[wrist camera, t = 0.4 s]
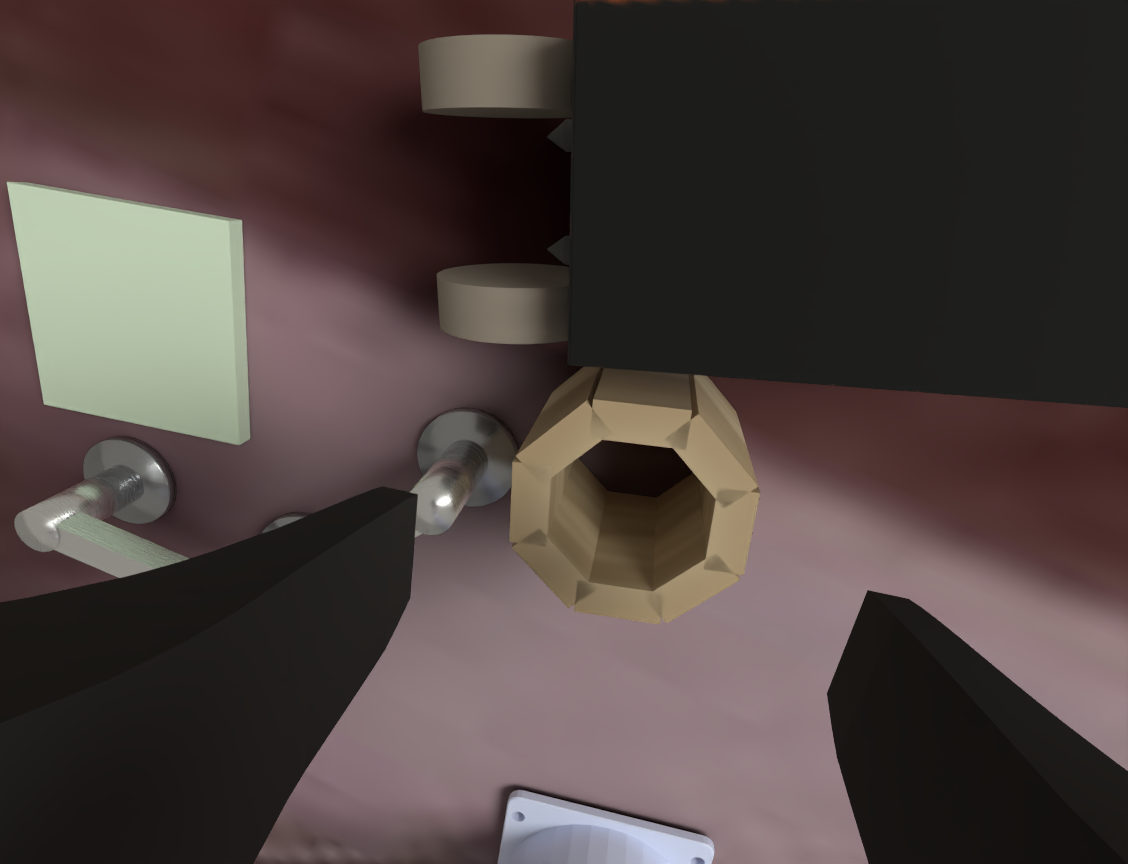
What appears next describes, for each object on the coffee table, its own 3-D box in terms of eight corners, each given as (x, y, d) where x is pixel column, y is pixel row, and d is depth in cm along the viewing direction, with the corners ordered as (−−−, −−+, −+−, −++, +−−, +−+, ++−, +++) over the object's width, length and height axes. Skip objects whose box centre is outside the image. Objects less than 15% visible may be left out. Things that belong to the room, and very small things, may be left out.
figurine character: (512, 312, 20) (1067, 342, 16) (387, 376, 13) (1296, 451, 9) (505, 69, 18) (1154, 38, 14) (349, -7, 11) (1543, -108, 7)
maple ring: (717, 531, 20) (731, 635, 15) (543, 507, 21) (506, 601, 16) (747, 360, 18) (774, 419, 13) (554, 340, 19) (515, 390, 14)
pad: (250, 438, 21) (239, 445, 21) (59, 399, 22) (44, 404, 21) (241, 219, 19) (228, 221, 18) (25, 182, 19) (6, 182, 19)
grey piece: (496, 633, 23) (464, 714, 19) (103, 543, 24) (5, 604, 20) (525, 418, 20) (494, 469, 16) (73, 329, 21) (-48, 357, 17)
